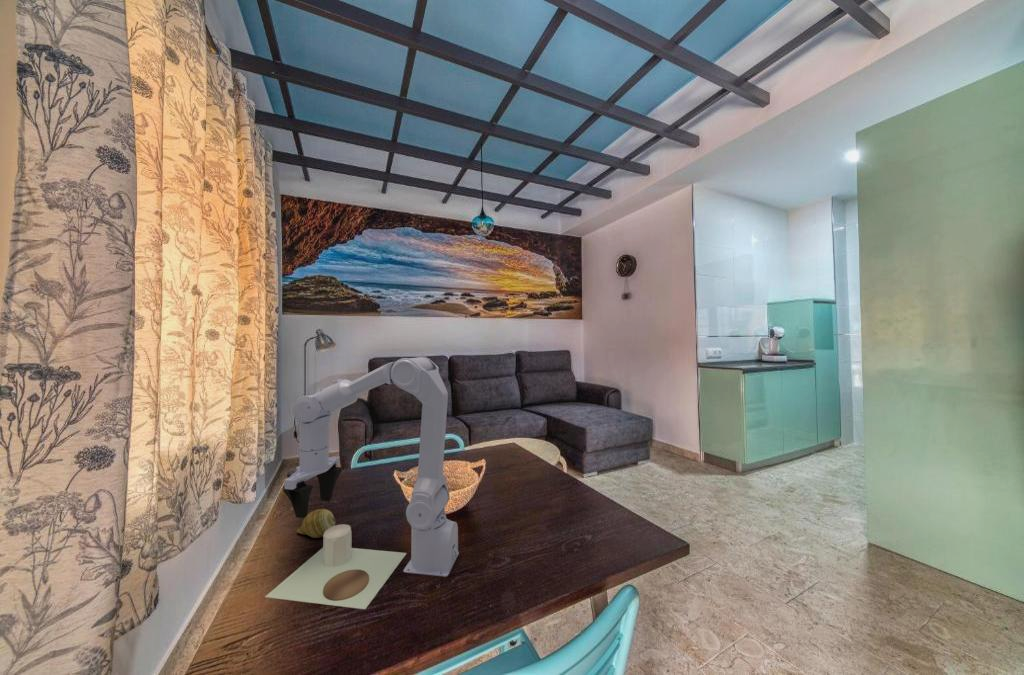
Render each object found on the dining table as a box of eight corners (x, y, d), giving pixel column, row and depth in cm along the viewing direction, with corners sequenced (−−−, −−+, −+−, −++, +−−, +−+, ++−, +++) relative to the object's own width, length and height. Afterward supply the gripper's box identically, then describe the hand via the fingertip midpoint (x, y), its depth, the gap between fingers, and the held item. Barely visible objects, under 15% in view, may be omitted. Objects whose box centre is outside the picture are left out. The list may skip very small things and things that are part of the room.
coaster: (377, 572, 69) (377, 571, 69) (352, 602, 61) (352, 601, 61) (341, 569, 70) (341, 567, 70) (312, 598, 62) (312, 596, 62)
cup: (355, 552, 75) (355, 525, 75) (340, 567, 70) (340, 538, 70) (334, 550, 76) (334, 523, 76) (317, 565, 71) (318, 536, 71)
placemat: (406, 554, 75) (406, 553, 75) (365, 611, 59) (365, 609, 59) (325, 547, 78) (325, 545, 78) (264, 599, 62) (264, 596, 62)
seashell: (300, 551, 83) (284, 539, 78) (308, 522, 89) (293, 508, 84) (341, 541, 84) (327, 528, 79) (346, 512, 90) (333, 498, 85)
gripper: (321, 438, 84) (321, 493, 84) (271, 457, 70) (271, 523, 70) (347, 439, 83) (347, 494, 83) (302, 459, 69) (301, 526, 69)
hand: (314, 508), depth 76 cm, fingers open, 7 cm apart
